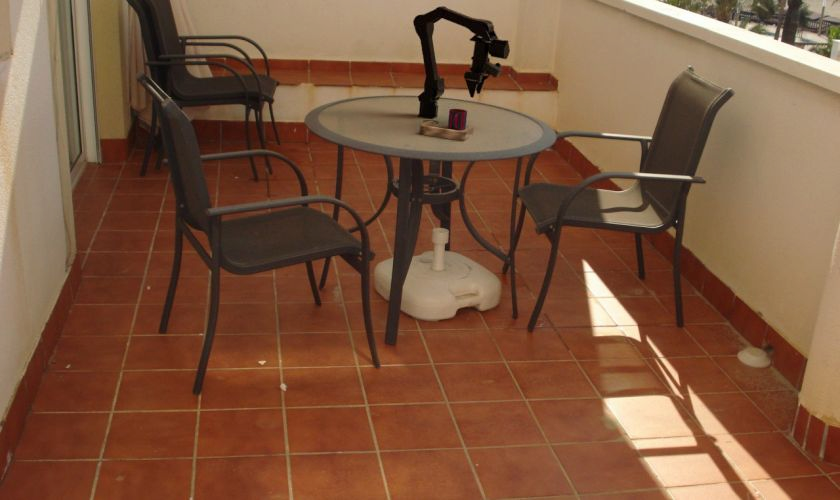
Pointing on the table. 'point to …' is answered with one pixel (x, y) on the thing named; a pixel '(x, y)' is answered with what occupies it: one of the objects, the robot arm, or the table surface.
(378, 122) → the table surface
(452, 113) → the mug
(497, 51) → the robot arm
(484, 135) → the table surface
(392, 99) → the table surface
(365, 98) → the table surface
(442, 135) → the brown bracket-shaped piece
